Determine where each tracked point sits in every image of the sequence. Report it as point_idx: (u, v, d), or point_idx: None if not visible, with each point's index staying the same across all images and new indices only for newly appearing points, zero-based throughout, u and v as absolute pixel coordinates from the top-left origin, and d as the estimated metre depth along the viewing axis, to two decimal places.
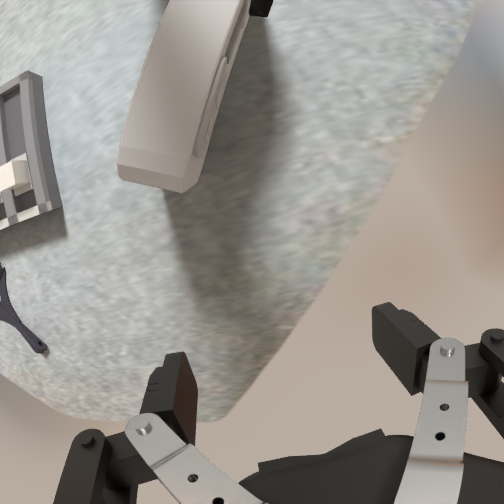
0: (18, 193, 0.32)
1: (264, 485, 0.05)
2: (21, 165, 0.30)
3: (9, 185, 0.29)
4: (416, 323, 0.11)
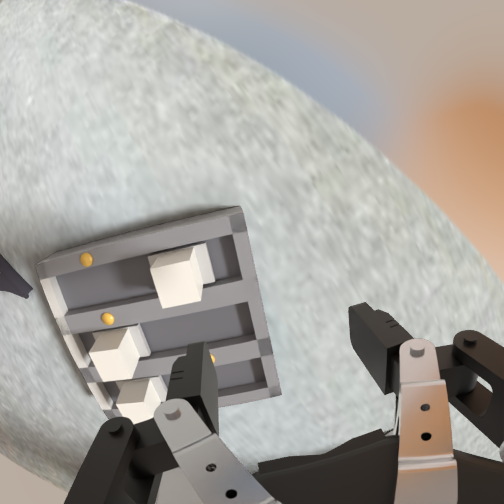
0: (119, 386, 0.29)
1: (264, 485, 0.05)
2: None
3: None
4: (391, 323, 0.11)
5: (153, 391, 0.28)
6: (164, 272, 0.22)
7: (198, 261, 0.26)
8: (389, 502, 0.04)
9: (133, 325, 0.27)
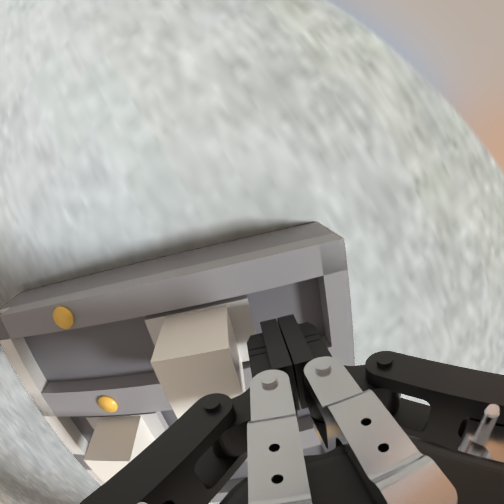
0: None
1: None
2: None
3: None
4: (313, 337, 0.12)
5: None
6: (179, 368, 0.11)
7: (234, 328, 0.15)
8: None
9: (149, 412, 0.16)
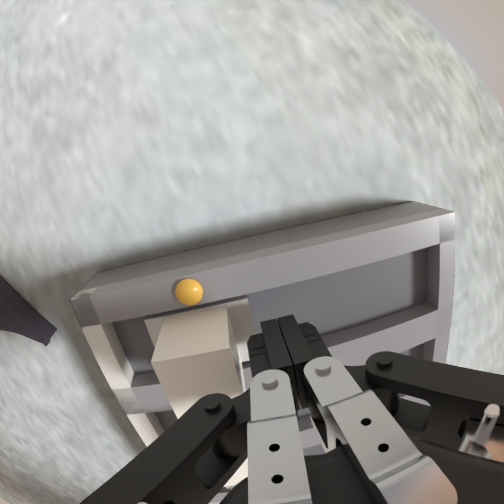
0: None
1: None
2: None
3: None
4: (313, 337, 0.12)
5: None
6: (179, 368, 0.11)
7: (234, 328, 0.15)
8: None
9: None
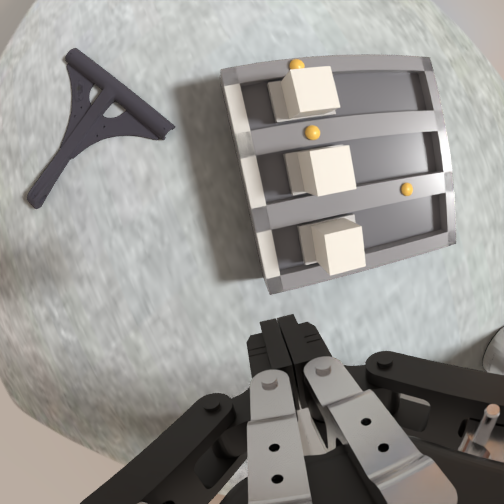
0: (302, 234, 0.26)
1: None
2: None
3: (330, 261, 0.23)
4: (313, 337, 0.12)
5: None
6: (305, 74, 0.19)
7: None
8: None
9: (337, 145, 0.24)
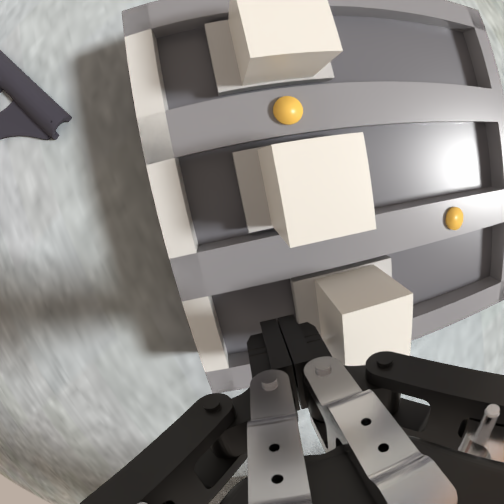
0: (299, 296, 0.14)
1: None
2: None
3: (349, 360, 0.11)
4: (313, 337, 0.12)
5: None
6: None
7: None
8: None
9: None
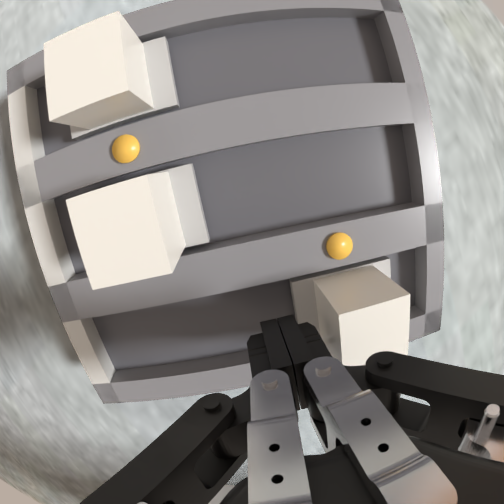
0: (297, 296, 0.14)
1: None
2: None
3: (346, 360, 0.11)
4: (313, 337, 0.12)
5: None
6: (66, 42, 0.07)
7: (148, 67, 0.11)
8: None
9: (180, 166, 0.13)
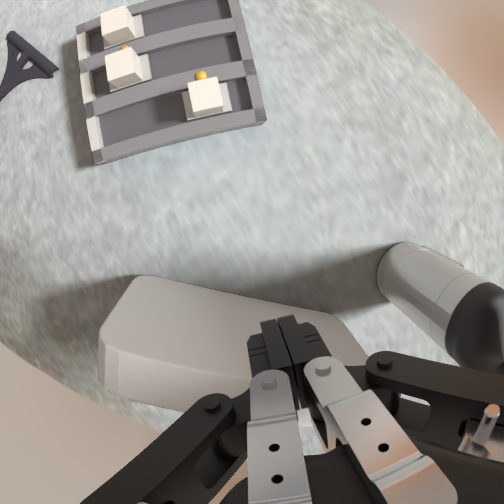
0: (184, 97, 0.31)
1: None
2: (216, 110, 0.30)
3: (193, 101, 0.28)
4: (313, 337, 0.12)
5: None
6: (108, 14, 0.24)
7: (134, 24, 0.28)
8: None
9: (143, 55, 0.29)
